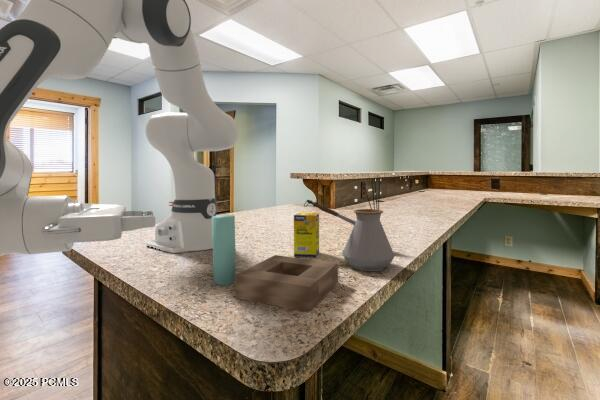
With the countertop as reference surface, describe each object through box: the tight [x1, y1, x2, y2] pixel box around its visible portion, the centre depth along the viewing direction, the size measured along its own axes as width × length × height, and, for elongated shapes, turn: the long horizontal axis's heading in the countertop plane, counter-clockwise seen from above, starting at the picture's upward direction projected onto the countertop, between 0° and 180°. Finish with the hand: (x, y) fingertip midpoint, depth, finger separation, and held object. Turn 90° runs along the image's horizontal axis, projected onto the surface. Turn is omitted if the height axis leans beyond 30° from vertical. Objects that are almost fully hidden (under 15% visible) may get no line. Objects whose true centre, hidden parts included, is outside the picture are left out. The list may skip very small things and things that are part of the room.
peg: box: [212, 214, 237, 286], centre depth 61 cm, size 4×4×13 cm
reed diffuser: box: [361, 177, 381, 210], centre depth 85 cm, size 10×7×20 cm
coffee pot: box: [303, 199, 395, 272], centre depth 72 cm, size 21×12×15 cm, turn 66°
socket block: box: [234, 254, 339, 313], centre depth 56 cm, size 14×14×4 cm
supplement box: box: [293, 211, 320, 259], centre depth 81 cm, size 6×6×11 cm
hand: (154, 217), depth 54 cm, fingers open, 8 cm apart
